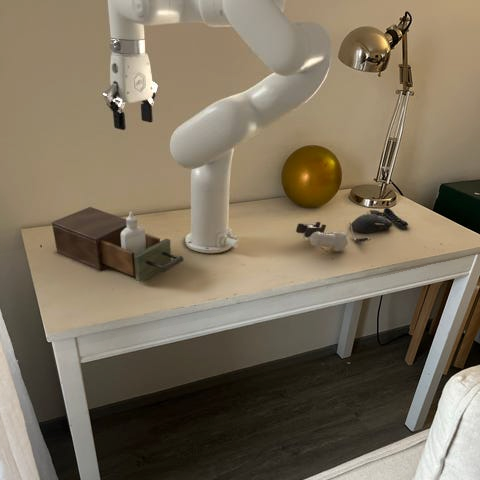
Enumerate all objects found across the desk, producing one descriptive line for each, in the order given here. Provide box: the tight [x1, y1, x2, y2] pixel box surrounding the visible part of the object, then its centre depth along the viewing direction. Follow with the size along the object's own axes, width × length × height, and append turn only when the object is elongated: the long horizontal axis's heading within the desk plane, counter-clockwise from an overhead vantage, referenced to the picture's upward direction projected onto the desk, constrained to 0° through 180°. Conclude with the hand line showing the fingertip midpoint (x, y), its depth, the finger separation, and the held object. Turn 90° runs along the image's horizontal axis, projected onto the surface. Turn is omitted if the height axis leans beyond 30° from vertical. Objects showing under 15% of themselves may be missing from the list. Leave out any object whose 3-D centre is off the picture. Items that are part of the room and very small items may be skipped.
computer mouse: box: [349, 207, 409, 234], centre depth 147 cm, size 12×18×4 cm
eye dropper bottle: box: [121, 211, 146, 255], centre depth 115 cm, size 4×6×12 cm
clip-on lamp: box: [295, 221, 371, 252], centre depth 133 cm, size 12×6×18 cm
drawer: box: [99, 229, 185, 283], centre depth 117 cm, size 19×11×6 cm, turn 57°
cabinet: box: [51, 206, 127, 271], centre depth 123 cm, size 15×12×8 cm
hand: (134, 125), depth 125 cm, fingers open, 9 cm apart
